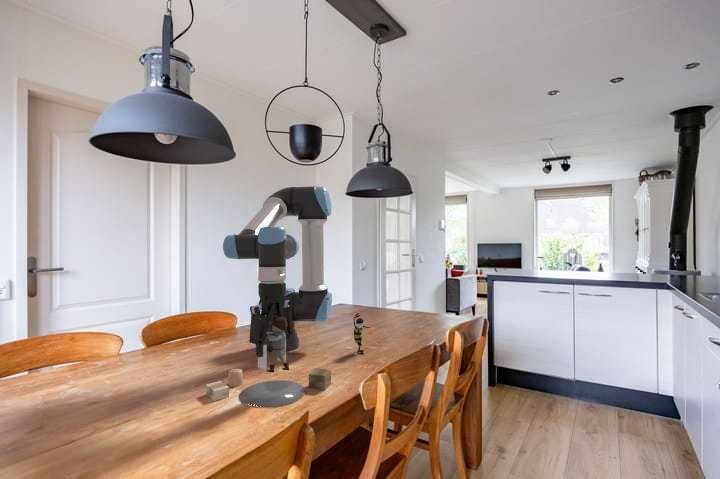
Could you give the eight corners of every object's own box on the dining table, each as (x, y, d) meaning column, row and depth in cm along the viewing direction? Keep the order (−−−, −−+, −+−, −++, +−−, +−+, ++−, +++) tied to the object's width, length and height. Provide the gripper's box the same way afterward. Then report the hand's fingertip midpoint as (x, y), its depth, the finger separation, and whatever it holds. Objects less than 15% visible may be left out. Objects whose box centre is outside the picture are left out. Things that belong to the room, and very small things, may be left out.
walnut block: (308, 391, 108) (308, 374, 108) (315, 384, 113) (315, 368, 113) (325, 393, 106) (325, 375, 106) (331, 386, 111) (330, 369, 111)
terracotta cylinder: (225, 388, 110) (225, 371, 110) (237, 384, 113) (236, 367, 113) (233, 391, 107) (233, 374, 107) (245, 387, 111) (245, 370, 111)
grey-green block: (206, 399, 103) (206, 384, 103) (220, 394, 106) (220, 380, 106) (214, 406, 98) (214, 391, 98) (229, 401, 101) (229, 387, 101)
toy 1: (259, 365, 107) (260, 314, 107) (290, 368, 106) (291, 315, 106) (246, 375, 100) (247, 319, 100) (279, 378, 98) (280, 321, 98)
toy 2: (370, 355, 140) (370, 315, 140) (350, 355, 140) (350, 315, 140) (370, 350, 147) (370, 312, 147) (351, 350, 147) (351, 312, 147)
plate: (225, 400, 102) (225, 395, 102) (275, 379, 116) (275, 376, 116) (269, 418, 91) (269, 413, 91) (318, 393, 106) (318, 389, 106)
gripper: (252, 286, 94) (252, 377, 93) (306, 279, 109) (306, 358, 109) (234, 284, 98) (234, 371, 98) (288, 278, 114) (288, 353, 114)
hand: (272, 364), depth 103 cm, fingers open, 6 cm apart
